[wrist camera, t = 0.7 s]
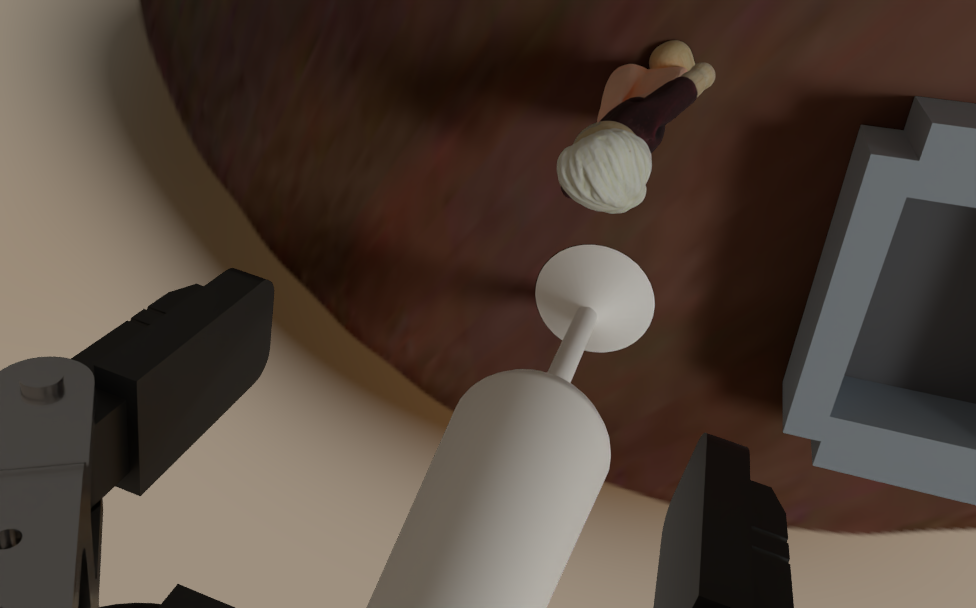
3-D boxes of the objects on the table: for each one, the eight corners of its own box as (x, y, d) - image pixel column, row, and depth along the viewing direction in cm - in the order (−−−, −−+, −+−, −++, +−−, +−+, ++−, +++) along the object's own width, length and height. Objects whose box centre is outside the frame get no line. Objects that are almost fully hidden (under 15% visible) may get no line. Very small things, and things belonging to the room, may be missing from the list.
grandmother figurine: (669, -1, 34) (619, 50, 23) (735, 54, 34) (716, 128, 24) (567, 132, 38) (486, 225, 28) (627, 179, 38) (569, 290, 28)
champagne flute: (532, 239, 42) (305, 564, 22) (657, 248, 40) (534, 617, 20) (536, 345, 45) (340, 715, 25) (652, 359, 43) (541, 775, 23)
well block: (1167, 127, 30) (1222, 161, 27) (1001, 456, 39) (1025, 517, 35) (870, 90, 33) (882, 116, 29) (775, 404, 41) (775, 456, 38)
